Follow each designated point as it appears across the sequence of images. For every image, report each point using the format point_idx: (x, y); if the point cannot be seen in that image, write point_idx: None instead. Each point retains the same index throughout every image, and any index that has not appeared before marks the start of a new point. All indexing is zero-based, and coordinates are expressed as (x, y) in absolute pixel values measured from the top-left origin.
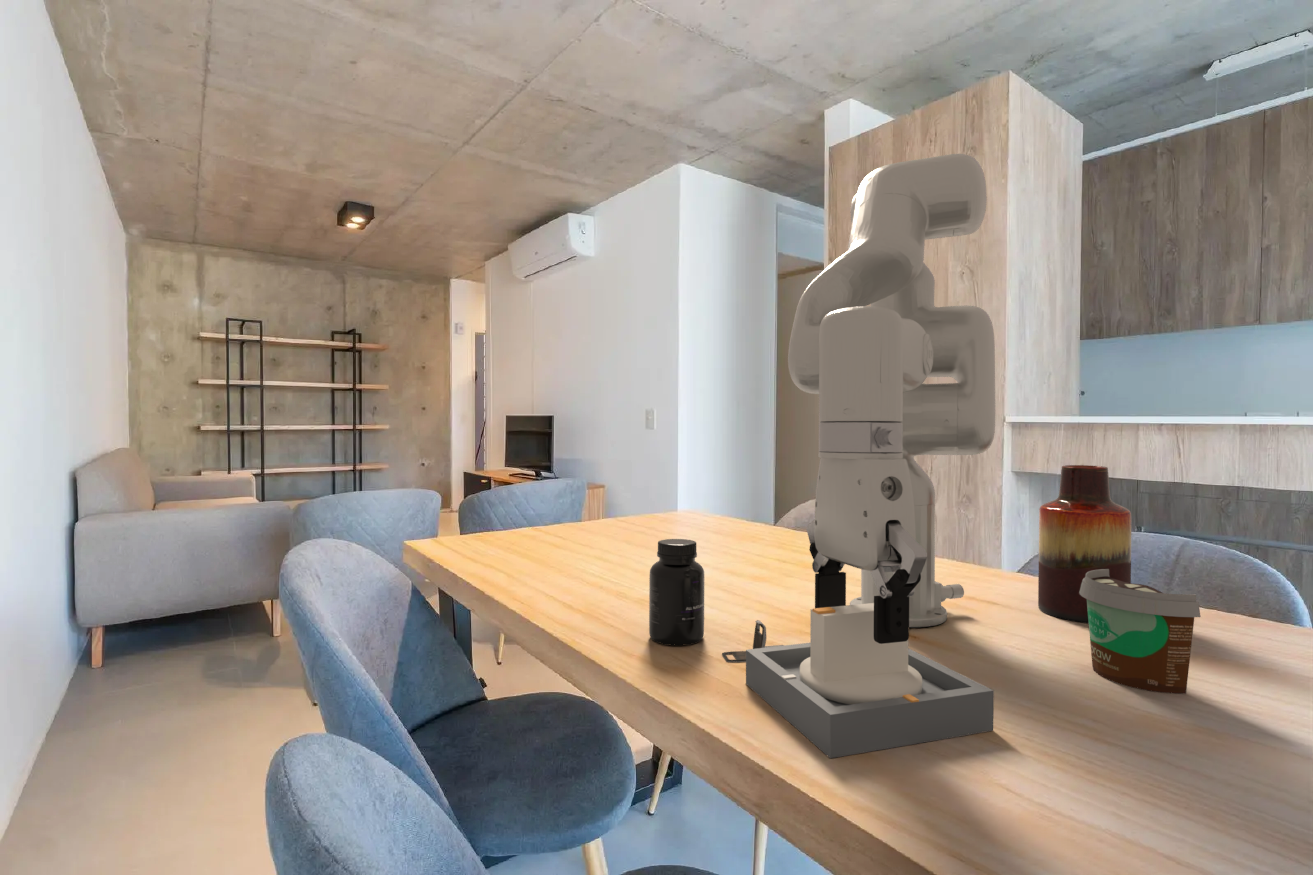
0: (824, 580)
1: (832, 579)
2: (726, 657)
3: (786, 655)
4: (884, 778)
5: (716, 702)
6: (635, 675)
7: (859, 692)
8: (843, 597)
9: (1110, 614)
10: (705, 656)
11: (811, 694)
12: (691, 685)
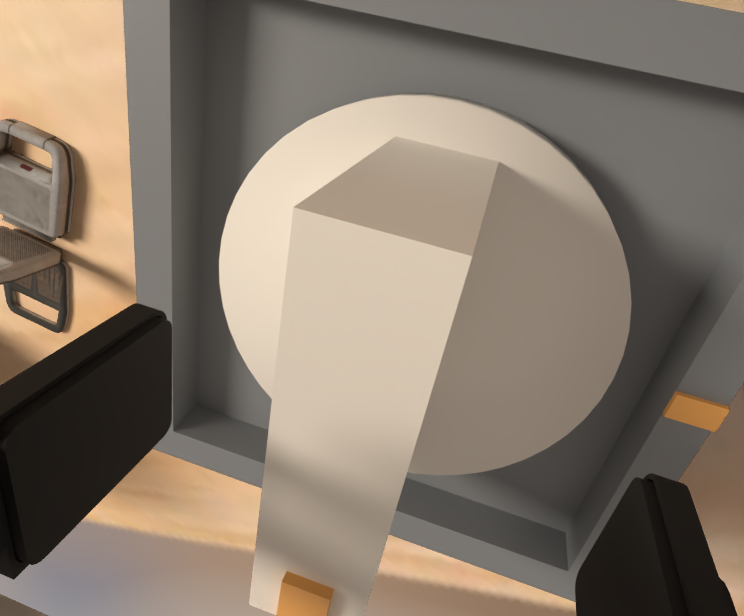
0: (47, 526)
1: (41, 493)
2: (40, 321)
3: (182, 356)
4: (720, 513)
5: (260, 489)
6: (96, 505)
7: (526, 442)
8: (120, 364)
9: None
10: (20, 346)
11: (475, 552)
12: (169, 469)
